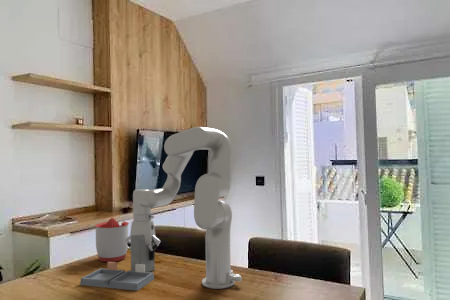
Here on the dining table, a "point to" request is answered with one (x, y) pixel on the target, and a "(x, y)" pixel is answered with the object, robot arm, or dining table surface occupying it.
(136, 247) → the skincare box
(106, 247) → the citrus juicer
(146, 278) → the tray
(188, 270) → the dining table surface
